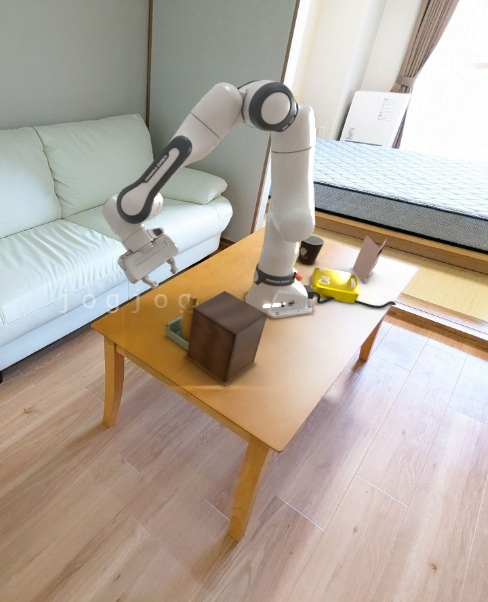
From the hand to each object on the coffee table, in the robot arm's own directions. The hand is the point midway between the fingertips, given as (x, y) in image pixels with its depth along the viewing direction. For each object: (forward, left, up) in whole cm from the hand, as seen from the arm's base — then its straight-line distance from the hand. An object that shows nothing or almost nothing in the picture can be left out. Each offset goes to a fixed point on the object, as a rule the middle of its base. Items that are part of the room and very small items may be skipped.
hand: (166, 280), depth 113 cm
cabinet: (-15, +19, -16) cm, 29 cm away
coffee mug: (-65, -41, -16) cm, 79 cm away
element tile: (-66, -18, -16) cm, 70 cm away
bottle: (-7, +9, -15) cm, 19 cm away
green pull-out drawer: (-8, +10, -16) cm, 20 cm away
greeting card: (-82, -28, -16) cm, 88 cm away
